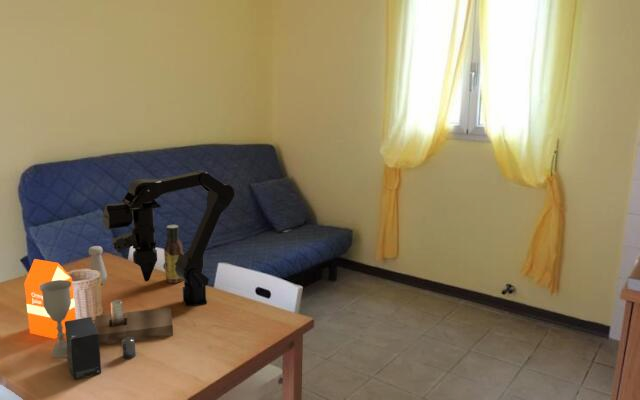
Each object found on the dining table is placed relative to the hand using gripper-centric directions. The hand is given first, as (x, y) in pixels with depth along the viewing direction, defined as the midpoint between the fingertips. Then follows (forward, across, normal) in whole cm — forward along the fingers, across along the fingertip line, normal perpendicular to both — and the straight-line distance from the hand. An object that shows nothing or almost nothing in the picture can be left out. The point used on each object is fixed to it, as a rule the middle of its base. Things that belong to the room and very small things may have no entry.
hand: (146, 275), depth 147 cm
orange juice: (+12, +3, -25) cm, 28 cm away
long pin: (+12, +10, -8) cm, 18 cm away
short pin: (+12, +24, -5) cm, 27 cm away
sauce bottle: (+12, -25, +9) cm, 29 cm away
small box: (+12, +26, -15) cm, 32 cm away
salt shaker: (+12, -30, -16) cm, 36 cm away
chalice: (+12, +17, -21) cm, 30 cm away
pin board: (+12, +10, -4) cm, 16 cm away
